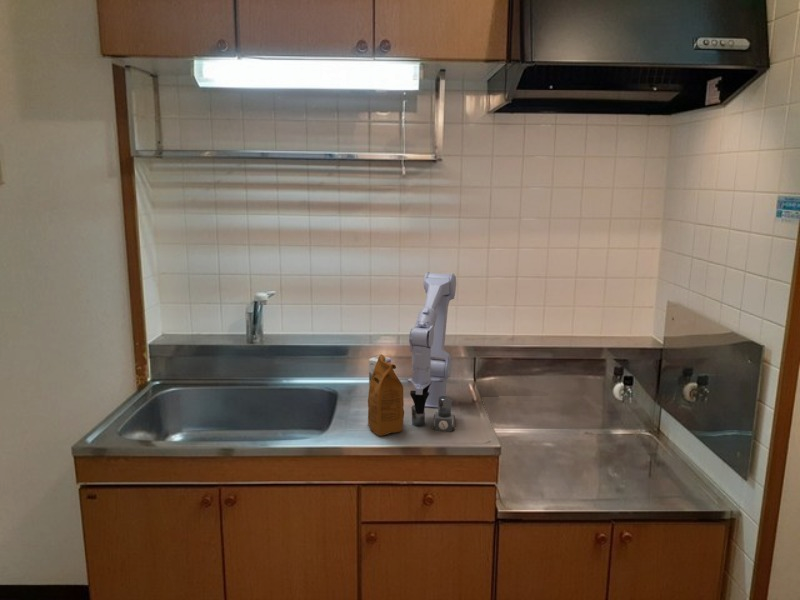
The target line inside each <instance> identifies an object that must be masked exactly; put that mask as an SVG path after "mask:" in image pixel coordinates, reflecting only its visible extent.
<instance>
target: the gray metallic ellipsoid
mask: <svg viewBox="0 0 800 600" xmlns="http://www.w3.org/2000/svg"><path fill="white" fill-rule="evenodd" d="M437 412H438V416H440V417H444V418H446V417H450V416H451V413H452V397H451V396H447V395H446V396H441V397H439V398H438V407H437Z"/></svg>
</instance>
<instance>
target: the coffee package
mask: <svg viewBox="0 0 800 600" xmlns="http://www.w3.org/2000/svg"><path fill="white" fill-rule="evenodd" d="M378 356H379V358H378V361H377V363H376V366H375V369H374V371H373V373H372V376H371V380H370V387H369V386H368V396H367V397H368V398H367V409H368V412H367V413H368V414H367V423H368V425H369V429H370V430H371V432H373V434H376V436H378V437H382V436H385V435H388V434H390V433H394V434H395V433H399V432H402V431H404V418H405V409H404V405H405V403H404V401H405V400H404V386H403V384H402V382H401V380H400V379H399V378H398V375H396V373H395V371H394V370H395V369H397V366H396V365H395V364H393V363H392V362H391V363H387V362H385V357H386V356H384V355H383V354H379V355H378Z"/></svg>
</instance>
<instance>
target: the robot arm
mask: <svg viewBox="0 0 800 600" xmlns="http://www.w3.org/2000/svg"><path fill="white" fill-rule="evenodd" d="M456 288H457V277H456V275H455V274H454V273H441V272H440V273H439V272H429V271H428V272H426V273H425V274H424V277H423V289H424V292H425V294H426V297H425V302H424V307H423V308H421V309H420V310H419V312H418V315H417V319H416V322H415V324H414V327H413V328H411V329H410V331H409V337H408V343H409V348H410V349H409V350H410V352H411V378H408V379H407V383H409V384H412V386H413V387H414V389H415V390H410V391H409V392H410V393H409V395H410V397H411V399H412V402H413V404H414V405H415V410H416V414H423V413H424V408H438V398H439V397H441V396H447V380H448V379H449V378H450V377H451V375H452V369H453V365H452V356H451V355H450V353H449V352H447V351H446V349H445V343H446V335H447V334H446V332H447V321H448V310H449V308H448V307H449V304H450V301H452V300H455V296H456V290H457V289H456Z"/></svg>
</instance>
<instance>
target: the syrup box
mask: <svg viewBox="0 0 800 600" xmlns="http://www.w3.org/2000/svg"><path fill="white" fill-rule="evenodd" d="M384 357H385V362H387V363H391V364H392V358H391V357H387V356H384ZM378 358H379V355H376V356H373V357H371V358H369V359H368V388H369V387H370V380H371V376H372V373H373V371H374V369H375V366H376V363H377V361H378Z"/></svg>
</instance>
